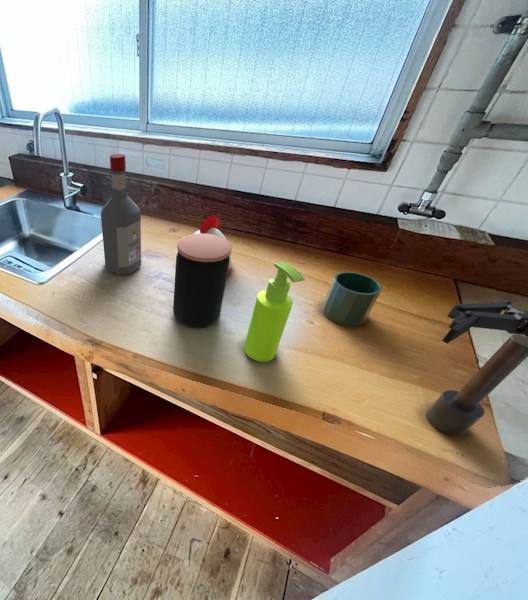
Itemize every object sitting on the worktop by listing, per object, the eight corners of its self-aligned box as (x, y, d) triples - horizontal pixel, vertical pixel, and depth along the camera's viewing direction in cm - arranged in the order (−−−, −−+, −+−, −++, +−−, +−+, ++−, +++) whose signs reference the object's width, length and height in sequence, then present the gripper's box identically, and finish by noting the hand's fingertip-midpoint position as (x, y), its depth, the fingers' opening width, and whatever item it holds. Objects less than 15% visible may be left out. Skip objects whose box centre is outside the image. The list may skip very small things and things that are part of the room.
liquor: (145, 264, 93) (145, 154, 75) (124, 278, 88) (118, 162, 70) (122, 255, 98) (116, 149, 80) (101, 267, 93) (89, 157, 75)
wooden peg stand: (470, 427, 50) (560, 346, 39) (454, 441, 48) (542, 360, 38) (435, 404, 54) (508, 323, 43) (418, 416, 52) (490, 335, 41)
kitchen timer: (170, 266, 92) (172, 216, 83) (200, 250, 99) (205, 202, 90) (210, 286, 83) (218, 233, 74) (239, 266, 90) (250, 215, 81)
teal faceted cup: (373, 318, 71) (391, 286, 66) (348, 331, 68) (364, 299, 63) (337, 298, 77) (351, 268, 72) (313, 309, 74) (325, 278, 69)
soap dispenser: (256, 368, 61) (284, 281, 49) (238, 343, 66) (259, 259, 54) (284, 362, 62) (317, 275, 50) (264, 338, 67) (289, 254, 55)
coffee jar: (228, 312, 74) (242, 242, 64) (203, 337, 68) (213, 264, 57) (189, 295, 80) (196, 228, 69) (163, 316, 74) (166, 246, 63)
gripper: (670, 386, 47) (616, 453, 39) (463, 297, 65) (400, 332, 57) (726, 349, 42) (677, 418, 35) (487, 265, 60) (421, 298, 53)
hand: (504, 364), depth 46 cm, fingers open, 13 cm apart
